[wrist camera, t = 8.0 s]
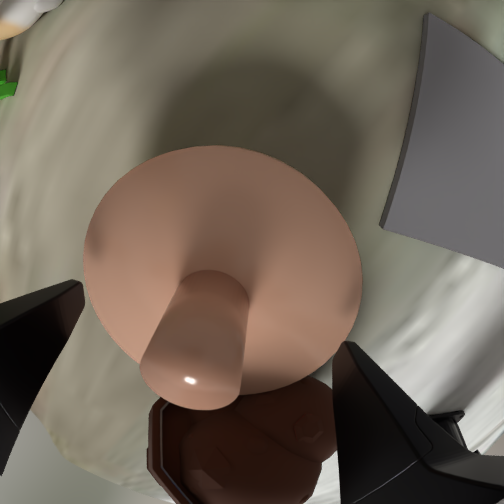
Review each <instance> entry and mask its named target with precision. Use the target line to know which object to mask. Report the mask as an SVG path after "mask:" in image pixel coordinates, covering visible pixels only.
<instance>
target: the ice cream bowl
mask: <svg viewBox="0 0 504 504" xmlns="http://www.w3.org/2000/svg"><path fill="white" fill-rule="evenodd" d="M336 450H337V442H336V431H335V421H334V412H333V400H332V389H331V388H330V387H329V386H327V385H326V384H325V383H323V382H321V381H319V380H317V379H315V378H313V377H310V376H308V375H307V376H306V377H304V378H302V379H301V380H298V381H296V382H294V383H292V384H290V385H287V386H284V387H281V388H278V389H275V390H272V391H267V392H262V393H257V394H248V395H238V396H237V398H236V399H235V400H234V401H233V402H232V403H230V404H229V405H227V406H225V407H222V408H218V409H213V410H195V409H189V408H185V407H181V406H178V405H175V404H173V403H171V402H169V401H167V400H165V399H163V398H162V397H160V398H159V399H158V400H157V401H156V402H155V403H154V405H153V406H152V408H151V410H150V413H149V430H148V448H147V469H148V471H149V472H150V473H151V475H152V476H153V477H154V478H155V480H156V481H157V482H158V484H159V485H160V486H162V487H163V488H164V490H165V491H166V492H167V493H168V495H169V496H170V497H171V498H172V499H173V501H174V502H175V503H176V504H303V503H305V502H306V501H307V500H308V499H309V498H310V497H311V496H312V494H313V492H314V489H315V486H316V484H317V481H318V478H319V475H320V473H321V470H322V462H323V461H325V460H327V459H328V458H329V457H330V456H331V455H332V454H333V453H334V452H335V451H336Z"/></svg>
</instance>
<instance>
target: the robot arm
mask: <svg viewBox="0 0 504 504" xmlns="http://www.w3.org/2000/svg"><path fill="white" fill-rule="evenodd" d="M84 306H85V297H84V289H83V284H82V283H81V282H80V281H77V280H73V279H71V280H68V281H65V282H62V283H59V284H56V285H53V286H50V287H47V288H44V289H41V290H38V291H35V292H32V293H29V294H26V295H23V296H20V297H17V298H15V299H12V300H9V301H6V302H3V303H0V475H1V476H2V474H3V472H4V469H5V466H6V464H7V461H8V458H9V456H10V453H11V451H12V448H13V446H14V444H15V441H16V439H17V437H18V434H19V432H20V429H21V427H22V425H23V423H24V421H25V419H26V417H27V414H28V412H29V410H30V408H31V406H32V404H33V402H34V400H35V398H36V396H37V394H38V392H39V391H40V389H41V387H42V385H43V383H44V381H45V379H46V378H47V376H48V374H49V372H50V370H51V369H52V367H53V365H54V363H55V362H56V360H57V358H58V356H59V355H60V353H61V351H62V350H63V348H64V346H65V345H66V343H67V341H68V339H69V337H70V335H71V333H72V331H73V329H74V327H75V325H76V323H77V321H78V319H79V317H80V315H81V313H82V311H83V309H84ZM332 400H333V412H334V421H335V431H336V442H337V453H338V466H339V480H340V499H341V504H504V456H489V455H481V454H480V452H479V451H478V450H476V451H475V452H471V451H469V450H468V448H467V446H466V443H465V441H464V438H463V436H462V433H461V431H460V429H459V426H458V424H457V423H458V422H459V421H460V420H461V419H462V418H463V417H464V415H465V413H464V411H460V412H454V413H447V414H440V415H432V416H428V415H427V414H426V413H425V412H424V411H423V410H422V409H421V408H420V407H419V406H417V404H416V403H415V402H414V401H413V400H412V399H411V398H410V397H409V396H408V395H407V394H406V393H405V392H404V391H403V390H402V389H401V388H400V387H399V386H398V385H397V384H396V383H395V382H394V381H393V380H392V379H391V378H390V377H389V376H388V375H387V374H386V373H385V372H384V371H383V370H382V369H381V368H380V367H379V366H378V365H377V364H376V363H375V362H374V361H373V360H372V359H371V358H370V357H369V356H368V355H367V354H366V353H365V352H364V351H363V350H362V349H361V348H360V347H359V346H358V345H357V344H356V343H355V342H351V341H343V342H342V343H341V345H340V346H339V348H338V350H337V352H336V354H335V356H334V358H333V362H332Z"/></svg>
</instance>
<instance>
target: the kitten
mask: <svg viewBox="0 0 504 504" xmlns="http://www.w3.org/2000/svg"><path fill="white" fill-rule="evenodd" d="M62 2H63V0H0V40H4V39H8V38H11V37H13V36H16V35H18V34H21V33H22V32H24V31H26V30H27V29H28V28H30V27H31V26H32V25H33V24H34V23H35V22H36V21H37V20H38V19H39V18H40V16H41V15H42V14H43V13H44V12H47V11H50V10H53V9H55V8H57V7H58V6H59V5H60V4H61V3H62ZM6 81H7V80H6V70H1V71H0V100H1V99H3V98H6V97H8V96H14V92H15V89H16V86H17V83H18V82H9V83H5V82H6Z"/></svg>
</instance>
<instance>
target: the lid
mask: <svg viewBox="0 0 504 504" xmlns="http://www.w3.org/2000/svg"><path fill="white" fill-rule="evenodd" d="M83 262H84V275H85V281H86V287H87V290H88V293H89V297H90V300H91V303H92V305H93V307H94V309H95V312H96V314H97V316H98V317H99V319H100V321H101V323H102V324H103V326H104V328H105V329H106V330H107V332H108V333H109V334H110V336H111V337H112V338H113V340H114V341H115V342H116V343H117V344H118V345H119V346H120V347H121V348H122V349H123V351H125V352H126V353H127V354H128V355H129V356H130V357H131V358H132V359H134V360H135V361H136V362H138V363H139V364H140V371H141V375H142V377H143V379H144V381H145V382H146V384H147V385H148V386H149V387H150V388H151V389H152V390H153V391H154V392H155V393H156V394H158V395H159V396H160V397H162V398H163V399H165V400H167V401H169V402H171V403H173V404H175V405H178V406H181V407H185V408H189V409H195V410H213V409H218V408H222V407H225V406H227V405H229V404H230V403H232V402H233V401H234V400H235V399H236V398H237V396H238V395H248V394H257V393H262V392H267V391H272V390H275V389H278V388H281V387H284V386H287V385H290V384H292V383H294V382H296V381H298V380H301V379H302V378H304V377H306V376H307V375H309V374H311V373H312V372H314V371H315V370H317V369H318V368H319V367H320V366H322V365H323V364H324V363H325V362H327V361H328V360H329V359H330V358H331V357H332V356H333V355H334V354H335V353H336V351H337V350H338V348H339V346H340V345H341V343H342V342H343V341H345V339H346V338H347V336H348V334H349V332H350V331H351V329H352V327H353V324H354V322H355V319H356V317H357V314H358V311H359V306H360V302H361V297H362V283H363V278H362V268H361V260H360V256H359V253H358V249H357V245H356V242H355V240H354V238H353V235H352V233H351V231H350V229H349V226H348V225H347V223H346V222H345V220H344V218H343V217H342V215H341V214H340V212H339V211H338V209H337V208H336V206H335V205H334V204H333V203H332V202H331V201H330V199H329V198H328V197H327V196H326V195H325V194H324V193H323V192H322V190H321V189H320V188H319V187H318V186H317V185H316V184H314V183H313V182H312V181H311V180H310V179H308V178H307V177H306V176H305V175H303V174H302V173H301V172H299V171H298V170H296V169H294V168H293V167H291V166H289V165H288V164H286V163H284V162H283V161H281V160H278V159H276V158H273V157H271V156H269V155H266V154H264V153H261V152H257V151H253V150H249V149H246V148H242V147H234V146H224V145H206V146H194V147H189V148H184V149H179V150H175V151H171V152H168V153H165V154H162V155H159V156H157V157H154V158H152V159H149V160H147V161H145V162H144V163H142V164H140V165H138V166H137V167H135V168H133V169H132V170H130V171H129V172H128V173H127V174H125V175H124V176H123V177H122V178H120V179H119V180H118V181H117V182H116V183H115V184H114V185H113V186H112V187H111V189H110V190H109V191H108V192H107V193H106V194H105V196H104V197H103V199H102V200H101V202H100V203H99V205H98V207H97V208H96V210H95V212H94V214H93V217H92V219H91V221H90V224H89V227H88V231H87V234H86V238H85V245H84V254H83Z"/></svg>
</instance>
